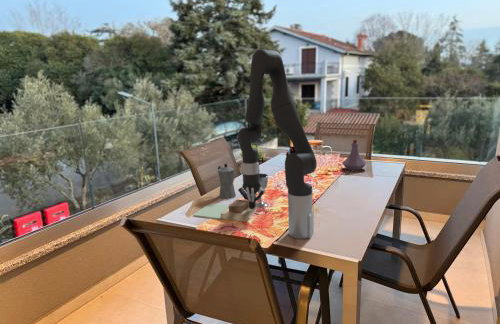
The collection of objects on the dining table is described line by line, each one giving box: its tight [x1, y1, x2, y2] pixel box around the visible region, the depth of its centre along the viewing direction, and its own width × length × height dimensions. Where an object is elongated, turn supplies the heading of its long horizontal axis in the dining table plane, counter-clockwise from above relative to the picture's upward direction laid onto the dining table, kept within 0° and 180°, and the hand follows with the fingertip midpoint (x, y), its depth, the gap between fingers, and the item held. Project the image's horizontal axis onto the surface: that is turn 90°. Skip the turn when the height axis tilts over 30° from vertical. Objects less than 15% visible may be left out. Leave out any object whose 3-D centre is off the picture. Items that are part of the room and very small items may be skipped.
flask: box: [341, 139, 368, 172], centre depth 223 cm, size 16×16×20 cm
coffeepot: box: [217, 163, 237, 200], centre depth 181 cm, size 15×9×18 cm, turn 33°
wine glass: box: [256, 173, 269, 208], centre depth 165 cm, size 8×8×15 cm
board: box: [220, 205, 258, 222], centre depth 155 cm, size 12×14×2 cm
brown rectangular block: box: [228, 199, 249, 213], centre depth 155 cm, size 6×9×3 cm, turn 158°
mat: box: [192, 203, 230, 220], centre depth 160 cm, size 14×16×1 cm
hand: (252, 208), depth 152 cm, fingers closed
